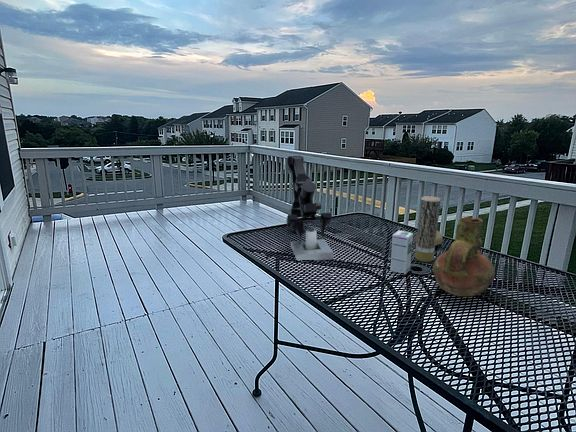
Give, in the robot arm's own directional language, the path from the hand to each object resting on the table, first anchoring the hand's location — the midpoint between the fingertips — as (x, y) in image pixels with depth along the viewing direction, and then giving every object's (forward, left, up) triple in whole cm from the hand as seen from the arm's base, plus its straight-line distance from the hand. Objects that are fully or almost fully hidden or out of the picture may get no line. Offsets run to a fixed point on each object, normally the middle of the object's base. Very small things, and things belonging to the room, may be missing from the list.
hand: (311, 237), depth 133 cm
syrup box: (+25, +25, -8) cm, 36 cm away
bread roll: (+9, +51, -8) cm, 53 cm away
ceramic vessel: (+44, +34, -8) cm, 56 cm away
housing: (-1, 0, -8) cm, 8 cm away
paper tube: (+20, +40, -8) cm, 45 cm away
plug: (-1, 0, -8) cm, 8 cm away
